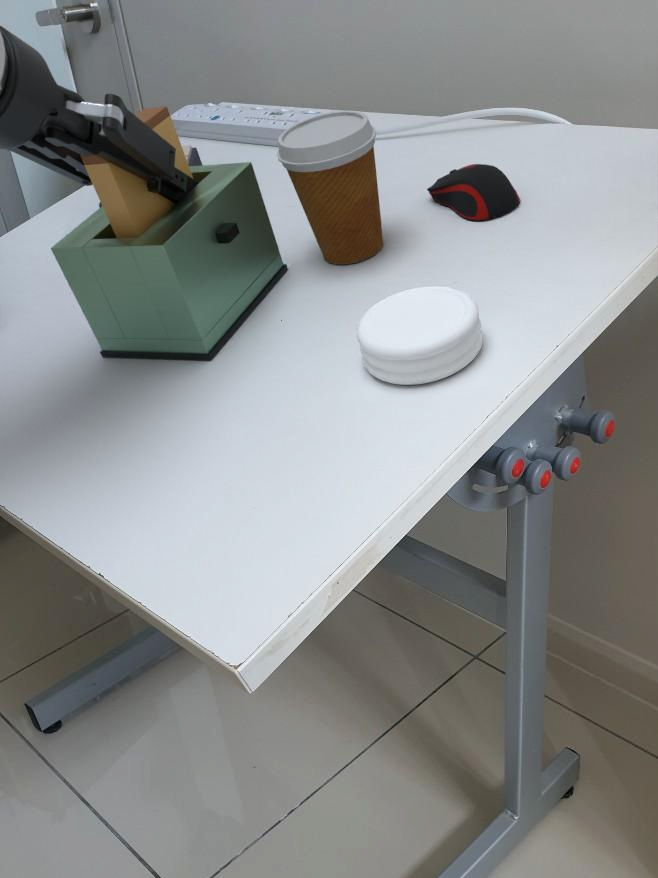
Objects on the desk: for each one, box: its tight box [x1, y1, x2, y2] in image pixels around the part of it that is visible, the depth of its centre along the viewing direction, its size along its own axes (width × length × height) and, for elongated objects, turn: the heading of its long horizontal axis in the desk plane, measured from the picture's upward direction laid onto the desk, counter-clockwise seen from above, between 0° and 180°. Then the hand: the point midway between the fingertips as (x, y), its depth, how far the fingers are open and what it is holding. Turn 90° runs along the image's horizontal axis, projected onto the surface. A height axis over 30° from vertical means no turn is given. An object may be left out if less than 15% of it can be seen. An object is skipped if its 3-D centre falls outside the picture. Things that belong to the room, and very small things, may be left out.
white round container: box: [355, 285, 484, 386], centre depth 71 cm, size 10×10×4 cm
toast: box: [80, 105, 193, 238], centre depth 78 cm, size 2×10×11 cm, turn 160°
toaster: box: [50, 161, 289, 362], centre depth 82 cm, size 13×16×11 cm
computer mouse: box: [426, 163, 521, 222], centre depth 90 cm, size 6×11×4 cm, turn 32°
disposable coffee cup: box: [276, 110, 384, 266], centre depth 85 cm, size 10×10×12 cm
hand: (182, 199), depth 82 cm, fingers closed on toast, 2 cm apart
